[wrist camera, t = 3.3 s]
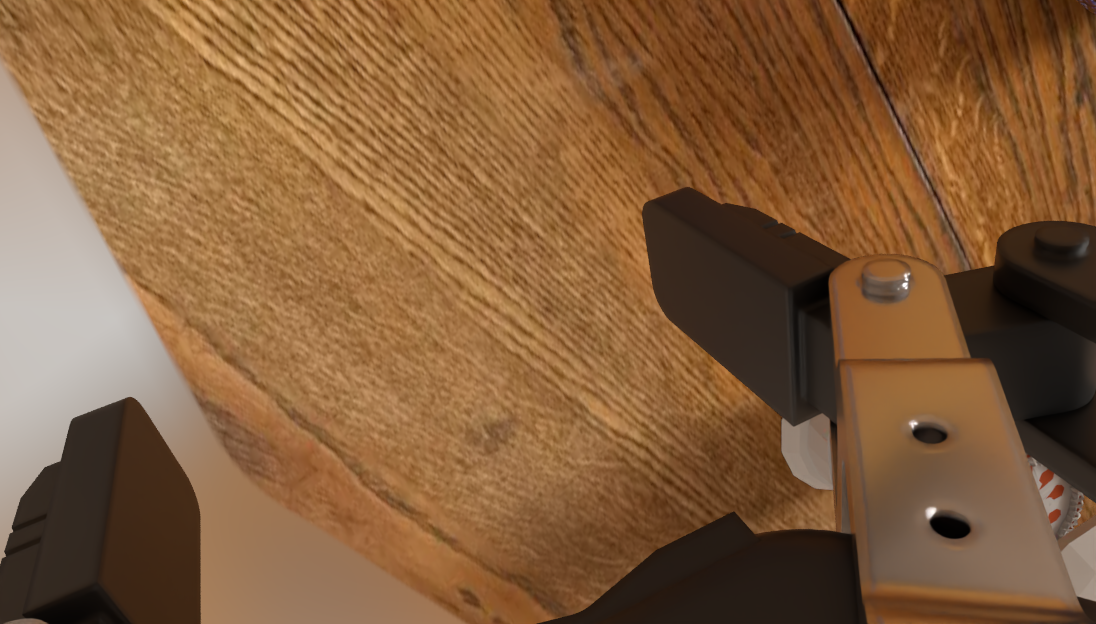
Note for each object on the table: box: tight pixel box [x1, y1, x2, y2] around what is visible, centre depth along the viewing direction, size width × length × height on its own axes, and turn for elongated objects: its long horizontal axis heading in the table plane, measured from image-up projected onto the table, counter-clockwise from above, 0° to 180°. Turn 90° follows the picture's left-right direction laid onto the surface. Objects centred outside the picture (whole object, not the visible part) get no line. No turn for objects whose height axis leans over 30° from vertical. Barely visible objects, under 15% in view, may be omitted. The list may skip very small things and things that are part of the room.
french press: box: [781, 413, 1096, 601], centre depth 29 cm, size 10×12×25 cm
